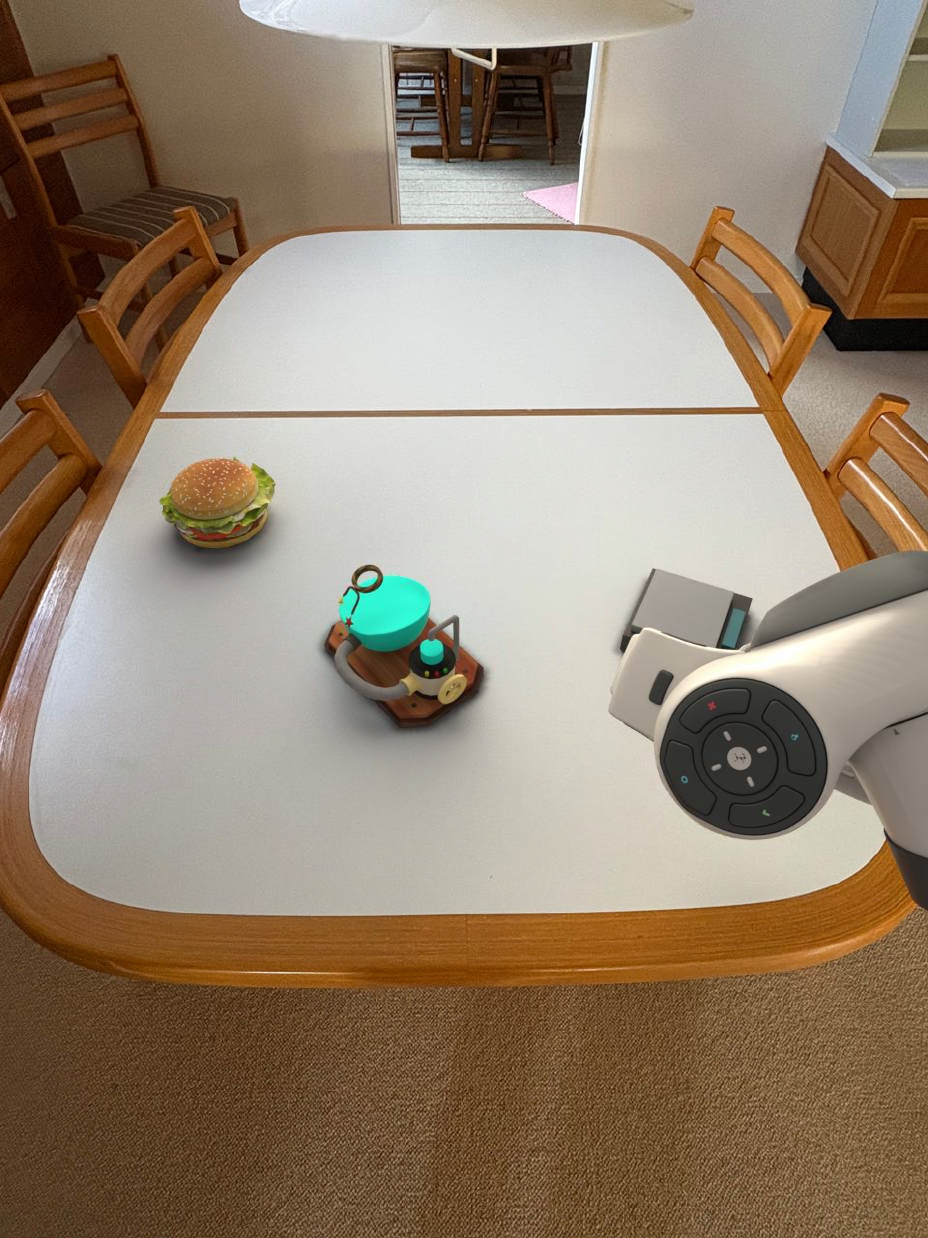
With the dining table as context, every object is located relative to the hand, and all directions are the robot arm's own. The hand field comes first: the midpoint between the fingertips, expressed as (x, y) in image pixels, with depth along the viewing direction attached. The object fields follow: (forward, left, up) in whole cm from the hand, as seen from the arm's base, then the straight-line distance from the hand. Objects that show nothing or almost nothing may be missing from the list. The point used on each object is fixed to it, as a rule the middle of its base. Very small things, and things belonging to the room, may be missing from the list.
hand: (757, 709), depth 61 cm
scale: (+8, -23, -18) cm, 31 cm away
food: (+68, -16, -18) cm, 72 cm away
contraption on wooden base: (+36, -4, -18) cm, 41 cm away
